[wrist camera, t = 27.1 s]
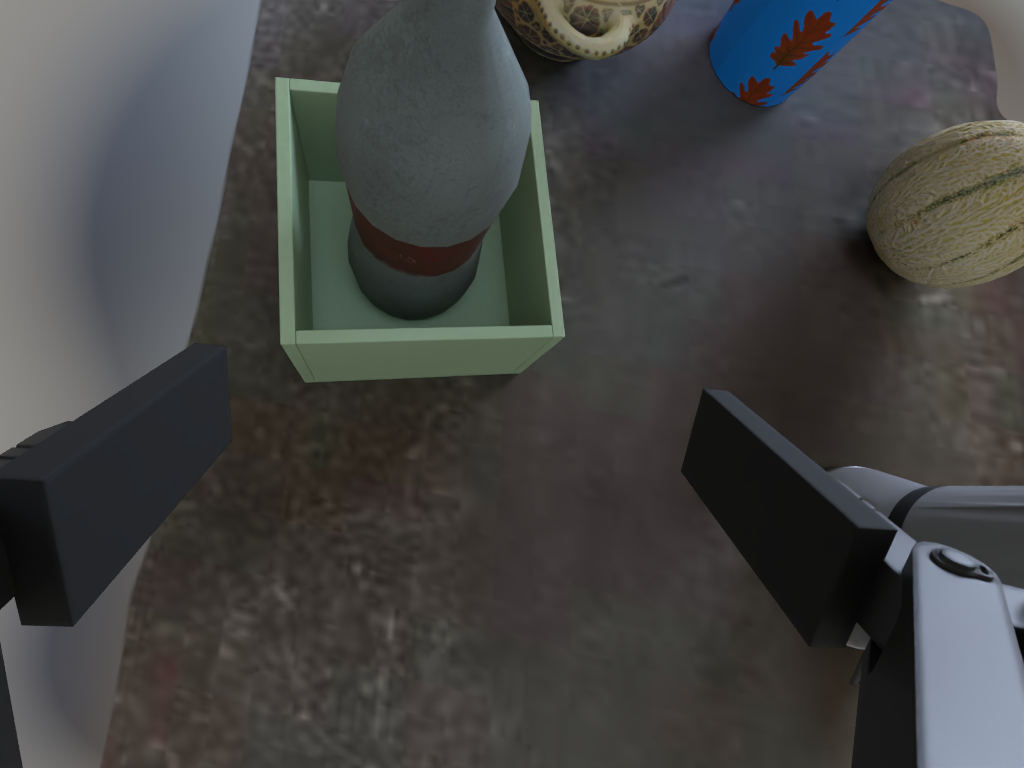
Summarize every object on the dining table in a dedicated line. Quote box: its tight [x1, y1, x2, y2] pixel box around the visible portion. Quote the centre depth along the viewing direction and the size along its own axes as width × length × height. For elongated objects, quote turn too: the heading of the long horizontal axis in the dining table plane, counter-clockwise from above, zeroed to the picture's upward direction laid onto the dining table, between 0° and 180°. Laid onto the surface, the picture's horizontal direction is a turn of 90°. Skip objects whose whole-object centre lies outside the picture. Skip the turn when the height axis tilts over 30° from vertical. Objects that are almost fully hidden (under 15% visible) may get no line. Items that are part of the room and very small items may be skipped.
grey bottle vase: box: [335, 0, 531, 320], centre depth 28 cm, size 9×9×30 cm
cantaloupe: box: [866, 120, 1024, 289], centre depth 50 cm, size 15×15×15 cm
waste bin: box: [275, 77, 565, 383], centre depth 38 cm, size 17×17×11 cm
